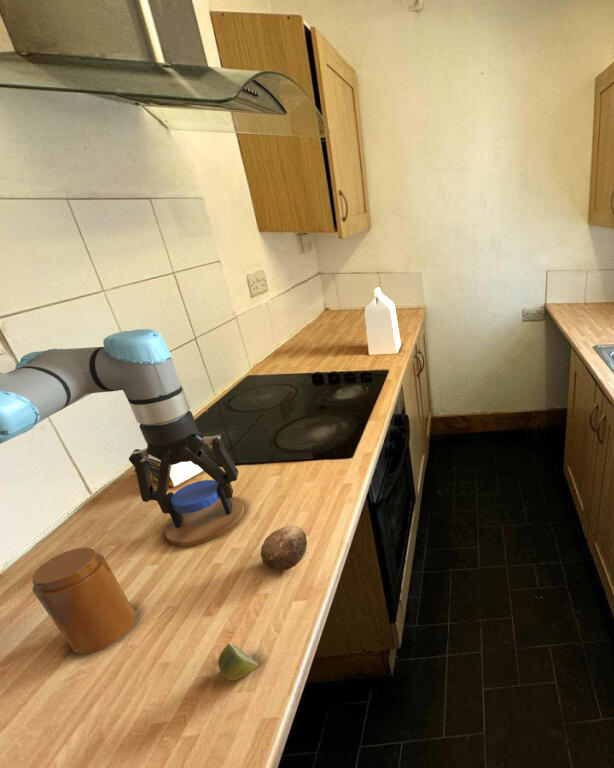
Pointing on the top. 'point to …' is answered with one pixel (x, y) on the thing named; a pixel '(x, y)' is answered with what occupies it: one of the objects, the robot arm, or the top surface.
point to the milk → (382, 325)
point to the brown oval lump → (284, 548)
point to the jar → (83, 599)
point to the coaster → (205, 524)
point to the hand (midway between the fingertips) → (205, 516)
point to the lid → (195, 496)
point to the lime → (235, 663)
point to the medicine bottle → (174, 471)
